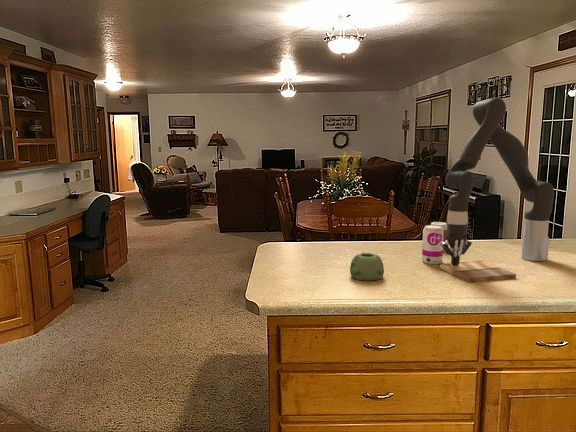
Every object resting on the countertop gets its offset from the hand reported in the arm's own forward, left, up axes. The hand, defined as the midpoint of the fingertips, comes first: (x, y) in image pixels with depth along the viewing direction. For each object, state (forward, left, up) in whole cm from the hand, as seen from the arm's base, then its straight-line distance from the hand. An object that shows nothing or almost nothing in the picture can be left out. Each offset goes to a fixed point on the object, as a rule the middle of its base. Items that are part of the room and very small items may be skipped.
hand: (455, 265), depth 190 cm
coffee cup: (-14, -34, -2) cm, 37 cm away
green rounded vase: (+37, -2, -2) cm, 37 cm away
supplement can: (+2, -13, -2) cm, 14 cm away
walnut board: (-5, +12, -2) cm, 13 cm away
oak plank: (-5, +2, -2) cm, 6 cm away
